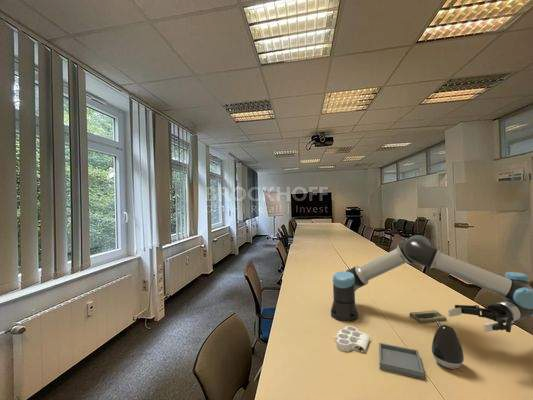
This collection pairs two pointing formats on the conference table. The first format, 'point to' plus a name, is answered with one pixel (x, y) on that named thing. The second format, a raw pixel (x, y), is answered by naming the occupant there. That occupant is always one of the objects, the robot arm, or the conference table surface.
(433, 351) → the pump dispenser
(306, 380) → the conference table surface
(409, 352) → the holder tray
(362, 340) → the knuckle duster
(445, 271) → the robot arm
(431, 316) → the computer
